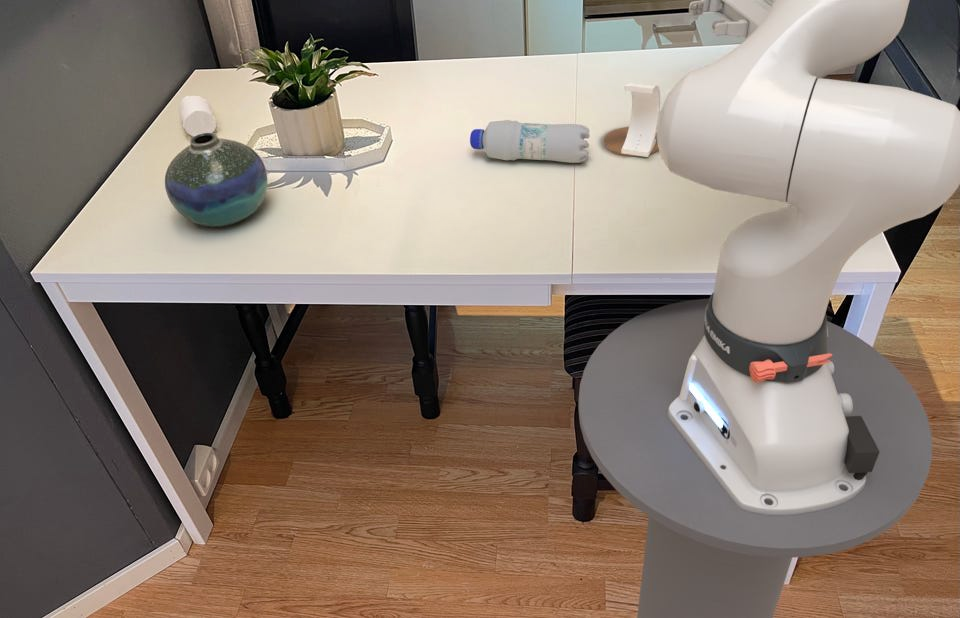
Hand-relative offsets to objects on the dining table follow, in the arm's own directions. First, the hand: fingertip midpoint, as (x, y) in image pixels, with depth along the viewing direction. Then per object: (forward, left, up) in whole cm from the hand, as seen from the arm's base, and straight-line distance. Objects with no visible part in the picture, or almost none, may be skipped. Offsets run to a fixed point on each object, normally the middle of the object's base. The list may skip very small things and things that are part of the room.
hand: (701, 18), depth 124 cm
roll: (+31, +87, -20) cm, 95 cm away
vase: (-4, +79, -20) cm, 82 cm away
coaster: (0, +10, -20) cm, 22 cm away
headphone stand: (-3, +10, -20) cm, 22 cm away
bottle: (-4, +19, -17) cm, 26 cm away
